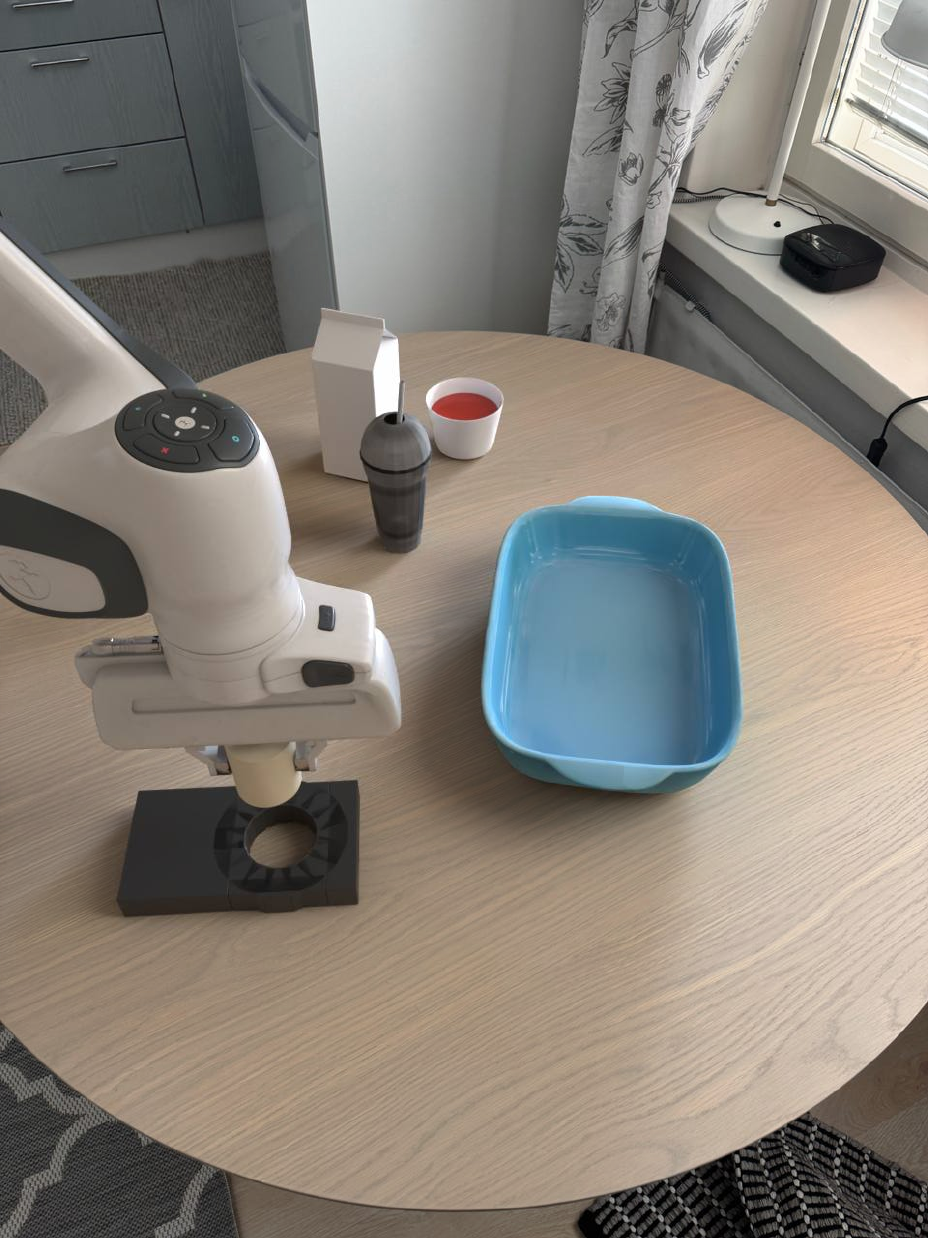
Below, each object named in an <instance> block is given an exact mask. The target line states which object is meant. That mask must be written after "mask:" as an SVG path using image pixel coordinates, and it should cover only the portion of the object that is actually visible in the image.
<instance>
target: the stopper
mask: <svg viewBox="0 0 928 1238" xmlns="http://www.w3.org/2000/svg"><path fill="white" fill-rule="evenodd" d="M224 746H225V750H226V753H227V757H228V760H229V764H230V767H231V771H232V778H233V781H234V786H236V789H237V792H238V794H239V796H240V797H241V798H242V799H243V800H244V801H245V802H246V803H248V804H250V805H252V806H256V807H262V808H267V807H274V806H277V805H280V804H282V803H284V802H286V801H288V800H289V799H290V798H291V797H292V796H293V795H294V794H295V793H296V792H297V790H298V788H299V786H300V783H301V781H302V771H301V772H297V771H296V765H295V762H294V754H295V751H296V745H295V742H283V743H262V744H241V745H224Z"/></svg>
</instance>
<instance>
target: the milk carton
mask: <svg viewBox="0 0 928 1238" xmlns="http://www.w3.org/2000/svg"><path fill="white" fill-rule="evenodd" d="M320 313H321V314H320V315H321V319H320V323H319V326H318V330H317V334H316V338H315V342H314V346H313V349H312V353H311V356H310V360H311V368H312V377H313V386H314V395H315V403H316V411H317V421H318V429H319V438H320V447H321V455H322V463H323V471H324V472H325V473H326V474H330V475H334V476H338V477H339V476H340V477H343V478H349V479H354V480H358V481H363V482H367V483H368V478H367V475H366V473H365V470H364V467H363V463H362V461H361V459H360V453H359V452H360V448H361V440H362V437H363V434H364V432H365V429H366V428H367V426H368V425H369V424H370V423H371V422H372V421H373V420H374V418H376V417H377V416H379V415H381V414H383V413H386V412H392V411H398V396H399V382H400V381H401V379H400V358H399V356H400V355H399V341H398V340H399V339H398V337H397V336H396V335H395V334H393V333H392V332H391V331H389V330H388V329H386V326H385V319H384V318H381V317H375V316H372V315H371V316H370V315H364V314H359V313H354V312H348V311H342V310H336V309H331V308H326V307H321V308H320Z"/></svg>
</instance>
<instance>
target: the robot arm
mask: <svg viewBox="0 0 928 1238" xmlns="http://www.w3.org/2000/svg"><path fill="white" fill-rule="evenodd" d="M0 351H2V353H4V354H6V355H7V356H8V357H9V358H11V359H12V360H13V361H14V362H15V363H16V364H18V366H19V367H21V368H22V369H24V370H25V371H26V372H27V373H28V374H29V375H31V377H33V378H34V379H35V380H36V381H37V382H38V383H39V385H40V386H41V387H42V389H43V391H44V393H45V396H46V399H47V406H46V408H45V409H44V410H43V411H42V412H41V413H40V414H39V416H38V417H37V418H36V419H35V420H34V421H33V422H32V423H31V424H30V425H29V427H28V428H27V429H26V430H25V432H23V433H22V434H21V436H20V437H19V438H17V439H16V440H15V441H14V442H12V444H10V445H9V447H7V448H6V450H5V451H4V452H2V454H1V456H0V594H1V595H2V596H3V597H4V598H5V599H7V600H8V601H9V602H10V603H12V604H14V605H15V606H17V607H19V608H20V609H22V610H25V611H28V612H30V613H32V614H37V615H41V616H44V617H50V618H56V619H65V620H86V619H88V620H90V619H91V620H92V619H93V620H95V619H96V620H97V619H98V620H113V619H115V620H117V619H118V620H119V619H131V618H138V617H141V616H144V615H145V614H150V615H151V616H152V620H153V624H154V626H155V629H156V632H157V635H140V636H132V637H126V638H125V637H124V638H116V637H100V638H96V639H93V640H92V642H91V644H87V645H86V646H83V647H81V648H80V649H78V651H77V652H76V653H75V655H74V658H73V659H74V660H73V661H74V666H75V669H76V671H77V674H78V676H79V679H80V681H81V682H82V683H83V685H84V686H86V687H87V688H88V689H90V690H91V704H92V710H93V711H92V712H93V716H94V717H93V718H94V722H95V725H96V730H97V732H98V735H99V738H100V741H101V742H102V743H104V744H105V745H107V746H109V747H110V748H112V749H114V750H116V751H135V750H155V749H156V750H157V749H159V750H160V749H175V748H176V749H177V748H178V749H179V748H184V751H185V752H186V753H187V754H189V755H190V756H191V757H193V758H195V759H197V760H198V761H200V762H201V763H203V764H204V765H206V766H207V769H208V773H209V776H210V777H217V776H218V777H219V776H231V775H232V771H231V767H230V764H229V760H228V757H227V753H226V750H225V746H224V745H241V744H262V743H283V742H295V745H296V751H295V754H294V762H295V765H296V771H297V772H301V773H302V772H317V771H318V759H319V756H320V755H321V753H323V751H324V750H325V749H326V747H328V743H329V742H328V741H340V740H341V741H342V740H343V741H344V740H362V739H383V738H384V739H386V738H389V737H392V736H393V735H394V734H395V733H396V732H397V731H398V730H400V728H401V727H402V699H401V685H400V680H399V679H400V678H399V673H398V668H397V665H396V660H395V656H394V654H393V650H392V648H391V645H390V643H389V641H388V638H387V637H386V636H385V634H384V633H383V632H382V631H381V630H380V629H378V628H377V623H376V615H375V614H376V613H375V608H374V604H373V600H372V597H371V596H370V595H369V594H368V593H366V592H364V591H359V590H356V589H351V588H345V587H339V586H334V585H330V584H325V583H321V582H317V581H313V580H310V579H306V578H302V577H299V576H297V575H296V574H295V572H294V570H293V568H292V566H291V565H290V563H289V559H290V555H291V550H292V549H291V548H292V536H291V535H292V534H291V528H290V521H289V516H288V511H287V506H286V502H285V497H284V492H283V488H282V485H281V480H280V476H279V473H278V470H277V467H276V463H275V460H274V457H273V454H272V452H271V450H270V447H269V444H268V443H267V441H266V439H265V437H264V435H263V433H262V431H261V430H260V428H259V427H258V426H257V424H256V422H255V421H254V420H253V418H252V417H251V416H250V415H249V414H248V413H247V411H245V410H244V408H242V407H241V406H240V405H238V404H237V403H235V402H234V401H232V400H231V399H229V398H227V397H225V396H223V395H220V394H218V393H215V392H211V391H208V390H204V389H201V388H200V387H199V385H198V384H197V383H196V382H195V380H193V378H192V377H190V376H189V374H187V373H186V372H185V370H182V369H181V367H179V366H178V365H176V364H175V363H173V362H172V361H171V360H169V358H167V357H166V356H164V355H162V354H161V353H159V352H158V351H156V350H154V349H153V348H152V347H150V346H148V345H147V344H145V343H144V342H142V341H141V340H139V339H138V338H137V337H135V336H134V335H132V334H131V333H130V332H128V331H127V330H126V329H125V328H123V327H122V326H121V325H120V324H119V323H117V322H116V321H115V320H113V319H112V318H111V317H110V316H109V315H108V314H107V313H106V312H104V310H102V309H101V308H100V307H99V306H98V304H96V303H95V302H94V301H93V300H91V298H90V297H88V295H87V294H85V293H84V292H83V291H82V290H81V289H80V288H78V286H76V284H75V283H73V282H72V281H71V280H70V279H69V278H68V277H67V276H66V275H65V274H64V273H63V272H61V270H59V269H58V268H57V267H56V266H55V265H54V264H53V263H52V262H51V261H49V259H47V258H46V256H44V255H43V253H41V252H40V251H39V250H38V249H37V248H36V247H35V246H33V244H31V243H30V242H29V241H28V240H27V239H26V238H25V237H24V236H23V235H22V234H21V233H19V231H17V230H16V229H15V228H14V227H13V226H12V225H11V224H10V223H9V222H8V221H7V220H6V219H5V218H4V217H2V216H1V215H0ZM232 776H233V775H232Z"/></svg>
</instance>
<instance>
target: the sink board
mask: <svg viewBox="0 0 928 1238" xmlns="http://www.w3.org/2000/svg"><path fill="white" fill-rule="evenodd" d="M360 815H361V794H360V786H359V780H357V779H348V780H330V781H329V780H328V781H310V782H309V781H305V780H301V783H300V786H299V788H298V790H297V792H296V793H295V794H294V795H293V796H292V797H291V798H290V799H289V800H288V801H286V802H284V803H282V804H280V805H277V806H274V807H267V808H262V807H256V806H252V805H250V804H248V803H246V802H245V801H244V800H243V799H242V798H241V797H240V796H239V794H238V792H237V789H236V785H228V786H226V785H225V786H208V787H207V786H206V787H188V788H187V787H185V788H166V789H165V788H164V789H146V790H145V789H144V790H143V789H142V790H138V791H137V795H136V800H135V805H134V811H133V815H132V821H131V825H130V826H131V827H130V831H129V835H128V840H127V846H126V850H125V855H124V859H123V865H122V870H121V875H120V880H119V886H118V891H117V896H116V903H117V905H118V908H119V909H120V911H121V914H122V915H123V917H124V918H128V917H129V918H130V917H145V916H161V915H162V916H164V915H165V916H166V915H182V914H183V915H184V914H202V913H218V912H222V913H223V912H240V911H243V912H244V911H260V912H263V913H266V914H271V913H290V912H297V911H298V910H301V909H303V908H311V907H312V908H313V907H314V908H317V907H328V906H329V907H334V906H348V905H349V906H351V905H359V901H360V900H359V899H360V898H359V897H360V894H359V893H360V891H359V890H360V829H361V827H360V825H361V824H360V822H361V821H360V818H361V817H360ZM281 823H283V824H284V823H296V824H299V825H303V826H306V827H307V828H308V829H309V830H311V831H312V833H314V834H315V836H316V839H315V842H314V845H313V846H312V848H311V850H310V851H309V852H308V853H307V854H306V855H305V856H304V857H303V858H302V859H300V860H299V861H297V862H294V863H291V864H289V865H286V866H277V867H271V866H268V865H265V864H261V863H258V861H256V859H254V858H253V857H252V856H251V848H252V846H253V844H254V842H255V841H256V839H257V837H258V836H259V835H260V834H262V833H263V832H265V830H267V829H268V828H270V827H272V826H276V825H278V824H281Z"/></svg>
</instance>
